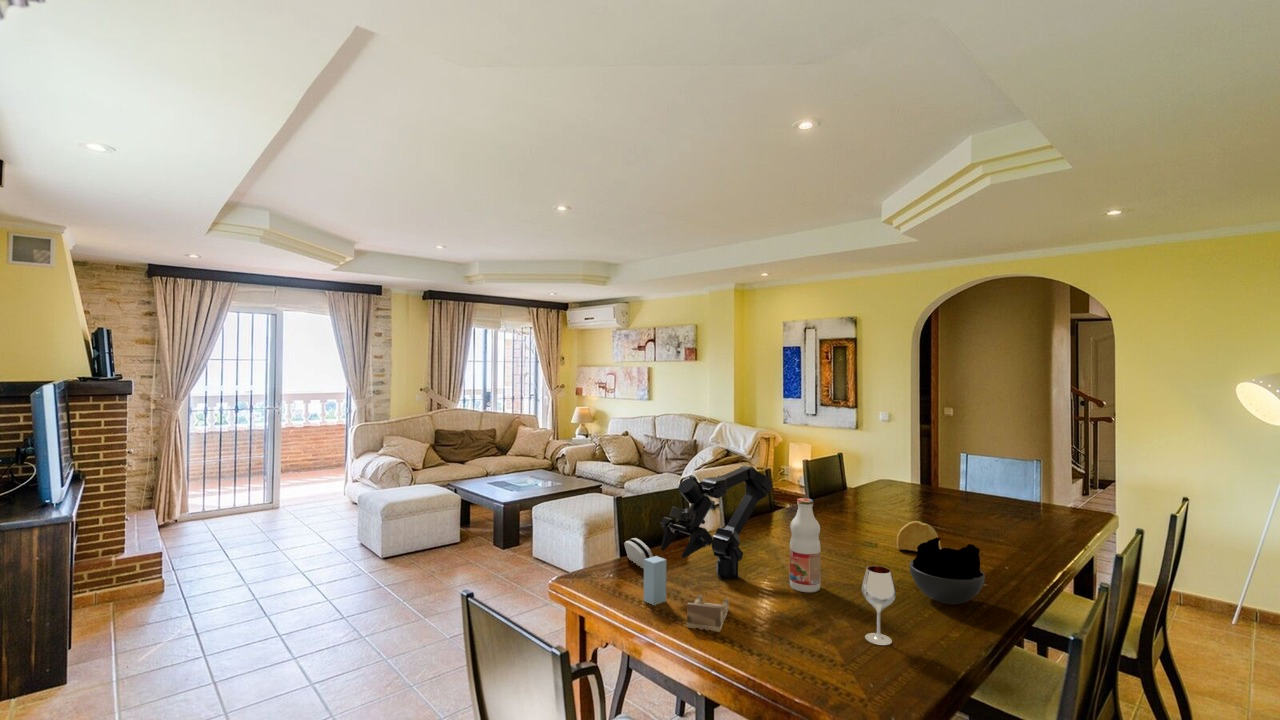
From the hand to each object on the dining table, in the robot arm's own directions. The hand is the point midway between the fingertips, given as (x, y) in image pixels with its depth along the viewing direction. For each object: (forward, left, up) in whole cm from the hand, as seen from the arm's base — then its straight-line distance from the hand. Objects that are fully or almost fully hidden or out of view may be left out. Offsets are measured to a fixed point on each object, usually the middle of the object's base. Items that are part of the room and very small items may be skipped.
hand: (671, 553), depth 177 cm
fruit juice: (-44, -3, -13) cm, 46 cm away
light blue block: (+6, +4, -13) cm, 15 cm away
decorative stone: (-103, -34, -13) cm, 109 cm away
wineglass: (-49, +33, -13) cm, 60 cm away
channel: (-8, +17, -13) cm, 22 cm away
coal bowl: (-82, +12, -13) cm, 84 cm away
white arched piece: (+6, -28, -13) cm, 32 cm away
